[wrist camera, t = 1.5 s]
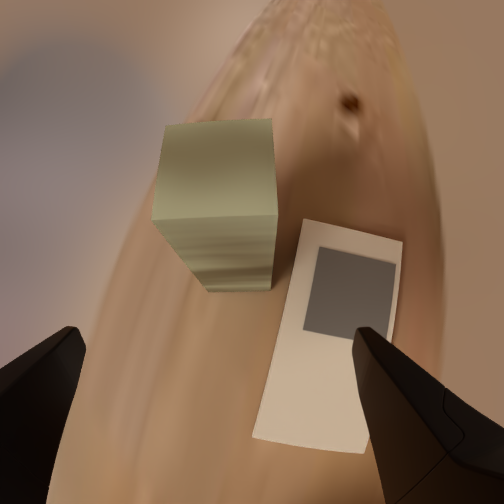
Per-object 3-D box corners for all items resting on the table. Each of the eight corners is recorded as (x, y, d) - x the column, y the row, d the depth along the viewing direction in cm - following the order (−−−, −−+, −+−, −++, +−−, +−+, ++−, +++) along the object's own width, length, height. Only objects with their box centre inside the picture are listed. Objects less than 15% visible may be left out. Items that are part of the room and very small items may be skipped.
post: (270, 290, 22) (278, 214, 11) (208, 292, 23) (150, 220, 11) (268, 232, 24) (271, 118, 12) (209, 234, 24) (165, 125, 12)
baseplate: (359, 449, 18) (364, 454, 17) (252, 433, 19) (251, 437, 18) (396, 247, 23) (403, 241, 22) (301, 224, 24) (304, 217, 23)
